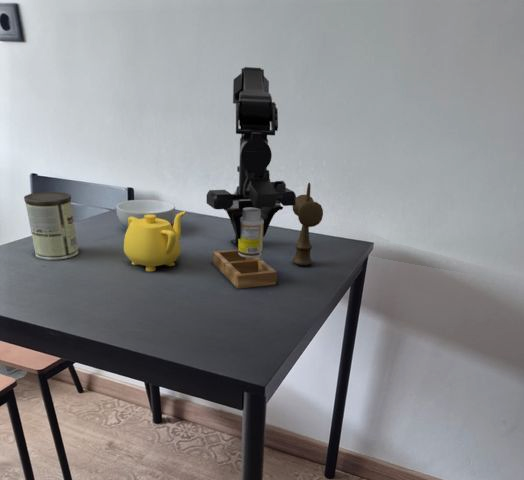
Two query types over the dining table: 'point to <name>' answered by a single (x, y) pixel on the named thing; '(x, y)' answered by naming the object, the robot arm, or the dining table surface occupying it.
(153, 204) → the cereal bowl
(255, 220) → the supplement bottle
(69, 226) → the coffee can
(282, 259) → the dining table surface
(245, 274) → the caddy
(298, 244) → the kendama
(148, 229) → the teapot
